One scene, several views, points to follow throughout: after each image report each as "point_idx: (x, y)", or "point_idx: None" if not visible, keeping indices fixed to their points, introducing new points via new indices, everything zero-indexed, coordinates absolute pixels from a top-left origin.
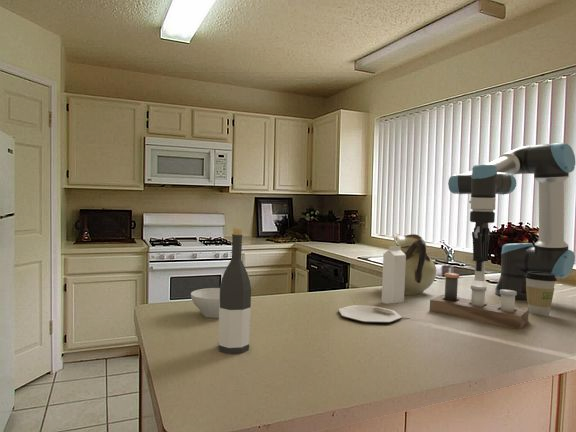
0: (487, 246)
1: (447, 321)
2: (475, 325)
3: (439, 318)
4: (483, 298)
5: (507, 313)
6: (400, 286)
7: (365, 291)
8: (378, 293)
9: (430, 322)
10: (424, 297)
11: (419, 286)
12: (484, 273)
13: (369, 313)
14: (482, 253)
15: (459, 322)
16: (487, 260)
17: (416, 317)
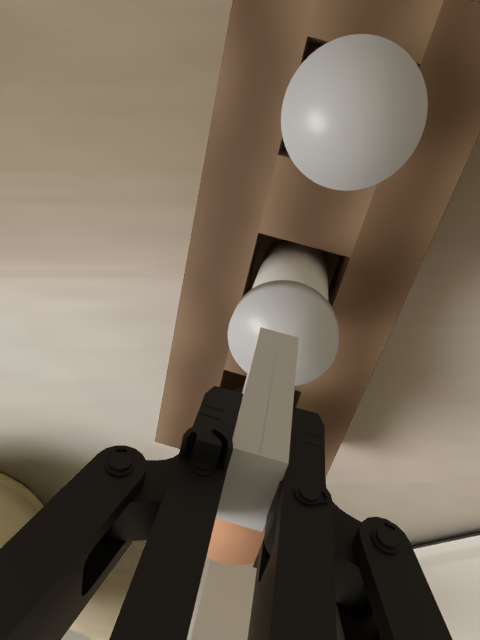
0: (16, 630)
1: (420, 377)
2: (436, 264)
3: (382, 406)
4: (310, 275)
5: (475, 111)
6: (224, 606)
7: (108, 617)
8: (104, 587)
9: (475, 435)
10: (33, 459)
11: (23, 516)
12: (259, 364)
13: (444, 604)
14: (334, 601)
15: (412, 331)
16: (218, 437)
17: (414, 480)
